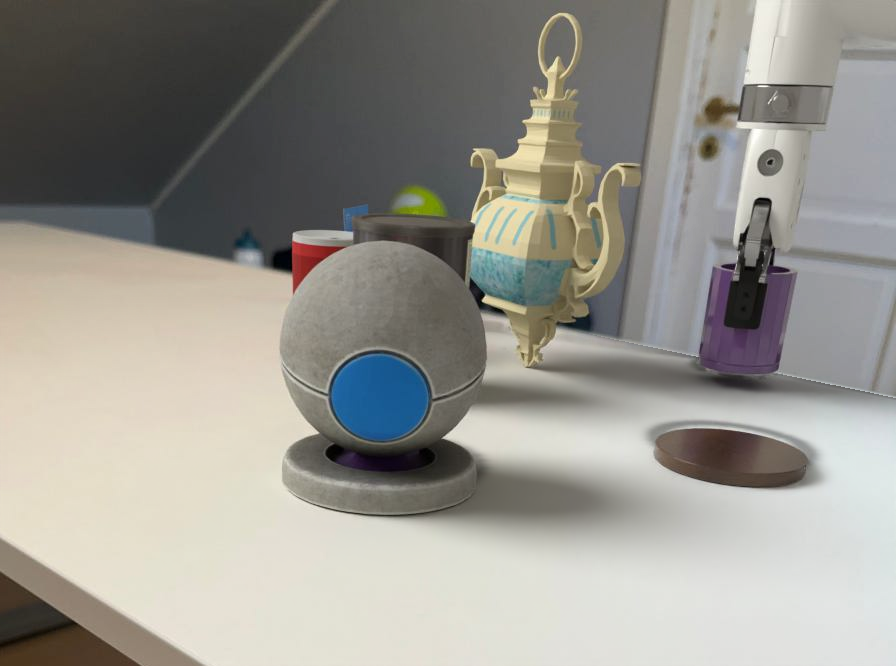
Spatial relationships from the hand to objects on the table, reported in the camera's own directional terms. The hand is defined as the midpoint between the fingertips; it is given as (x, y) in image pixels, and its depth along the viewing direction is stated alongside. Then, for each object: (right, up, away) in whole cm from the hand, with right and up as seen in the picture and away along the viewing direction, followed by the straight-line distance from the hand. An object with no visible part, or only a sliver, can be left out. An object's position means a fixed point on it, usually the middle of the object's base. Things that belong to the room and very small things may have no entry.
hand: (745, 319), depth 93 cm
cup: (0, -4, +2) cm, 4 cm away
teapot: (-20, -3, +5) cm, 21 cm away
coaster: (-8, -17, -20) cm, 28 cm away
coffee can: (-32, -8, -6) cm, 34 cm away
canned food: (-40, -1, +7) cm, 41 cm away
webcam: (-34, -20, -28) cm, 48 cm away
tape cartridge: (-37, +7, +22) cm, 44 cm away
